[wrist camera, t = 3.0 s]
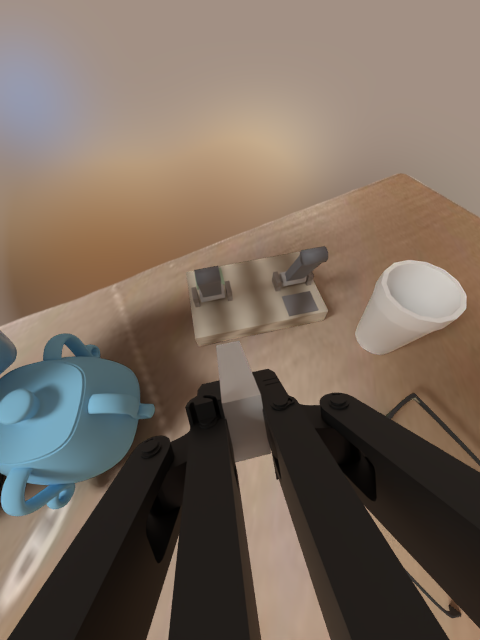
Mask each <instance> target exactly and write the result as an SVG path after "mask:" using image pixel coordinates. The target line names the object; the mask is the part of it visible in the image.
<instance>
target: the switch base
mask: <svg viewBox="0 0 480 640" xmlns="http://www.w3.org/2000/svg"><path fill="white" fill-rule="evenodd" d="M299 255H300V252H294V253H289V254H284V255H278V256H273V257H267V258H262V259H256V260H251V261H246V262H240V263H235V264H229V265H224V266H219V272H220V277H221V284H223V287H224V292H225V298H222V299H217V300H212V301H206V302H201V298H200V294H199V286H197V282H196V278H195V272H194V271H191V272H186V275H187V283H188V290H189V297H190V305H191V312H192V319H193V327H194V334H195V340H196V342H197V344H198V346H204V345H209V344H213V343H218V342H223V341H228V340H232V339H237V338H242V337H247V336H251V335H256V334H261V333H266V332H270V331H275V330H280V329H285V328H289V327H294V326H299V325H304V324H309V323H313V322H318V321H323V320H324V318H325V316H326V314H327V313H328V309H327V307H326V305H325V303H324V301H323V299H322V297H321V295H320V293H319V291H318V289H317V287H316V285H315V282H314V280H313V277H314V275H313V273H312V271H311V272H310V273H309V274H308V275H307V276H306V282H304V283H299V284H293V285H288V286H283V287H282V286H281V284H282V281H281V279H280V276H279V274H280V273H281V272H286V271H287V270H288V269H289V268H290V266H291V265H292V264H293V263H294V262H295V260H296V259H297V258H298V257H299Z"/></svg>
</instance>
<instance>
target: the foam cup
mask: <svg viewBox="0 0 480 640" xmlns="http://www.w3.org/2000/svg"><path fill="white" fill-rule="evenodd" d="M466 297H467V295H466V293H465V292H464V290H463V288H462V287H461V285H460V283H459V282H458V280H456V279H455V278H454V277H453V276H451V275H450V274H449V273H448V272H446V271H445V270H444V269H441V268H439V267H437V266H434V265H432V264H430V263H427V262H421V261H414V260H406V261H401V262H396V263H393V264H392V265H391V266H390V267H388V268H387V269H386V270H385V271H384V272H383V273H382V275H381V276H380V278H379V279H378V281H377V282H376V284H375V288H374V292H373V294H372V296H371V298H370V300H369V302H368V304H367V306H366V309H365V311H364V313H363V315H362V317H361V319H360V321H359V323H358V326H357V328H356V332H355V335H356V339H357V342H358V343H359V344H360V345H361V347H362V348H363V349H365V350H367V351H368V352H370V353H372V354H378V355H383V354H387V353H389V352H392V351H394V350H396V349H398V348H400V347H402V346H404V345H407V344H409V343H411V342H413V341H415V340H417V339H419V338H421V337H423V336H425V335H427V334H429V333H431V332H433V331H436V330H440V329H443V328H445V327H446V326H447V325H449V324H450V323H452V322H453V321H455V320H456V319H457V318H458V317H459V316H460V315H461V314H462V313H463V312H464V311H465V310H466Z"/></svg>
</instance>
